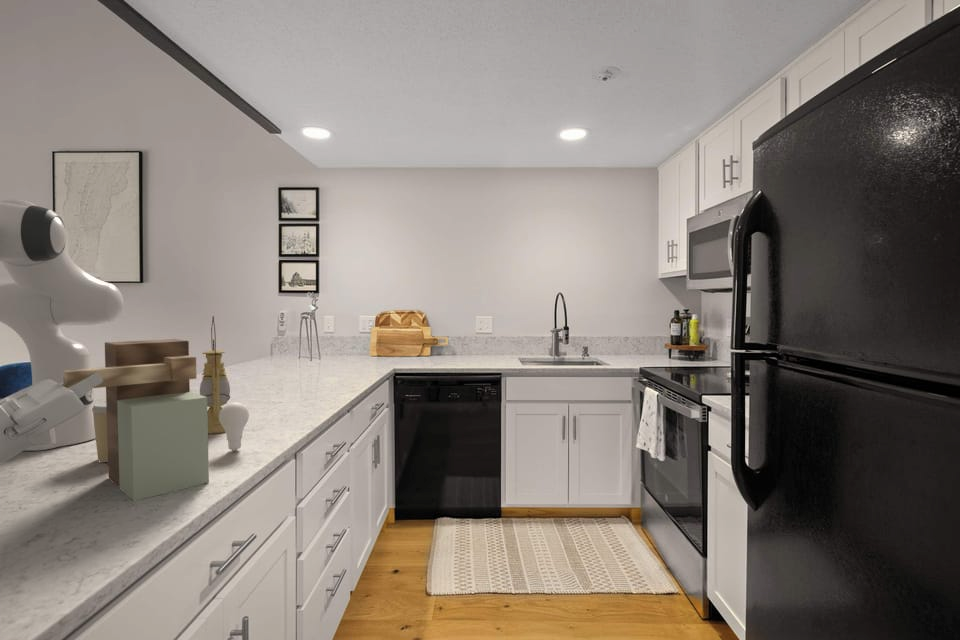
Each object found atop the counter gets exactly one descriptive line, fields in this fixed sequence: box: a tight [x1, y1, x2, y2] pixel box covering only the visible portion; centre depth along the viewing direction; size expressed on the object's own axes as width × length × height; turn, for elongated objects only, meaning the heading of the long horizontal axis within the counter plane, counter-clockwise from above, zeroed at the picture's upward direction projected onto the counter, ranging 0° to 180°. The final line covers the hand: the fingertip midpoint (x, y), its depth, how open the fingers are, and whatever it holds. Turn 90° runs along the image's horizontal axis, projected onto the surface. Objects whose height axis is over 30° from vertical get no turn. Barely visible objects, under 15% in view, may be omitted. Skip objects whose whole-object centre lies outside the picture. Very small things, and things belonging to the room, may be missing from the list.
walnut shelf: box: [104, 338, 191, 489], centre depth 101 cm, size 12×8×26 cm, turn 137°
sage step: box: [117, 391, 210, 501], centre depth 95 cm, size 12×9×16 cm
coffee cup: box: [92, 400, 108, 463], centre depth 113 cm, size 9×9×12 cm
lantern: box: [199, 315, 231, 435], centre depth 136 cm, size 12×10×30 cm
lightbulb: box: [219, 401, 250, 452], centre depth 117 cm, size 6×6×11 cm
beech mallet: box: [63, 355, 198, 389], centre depth 92 cm, size 19×4×4 cm, turn 137°
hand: (96, 375), depth 88 cm, fingers closed on beech mallet, 3 cm apart
